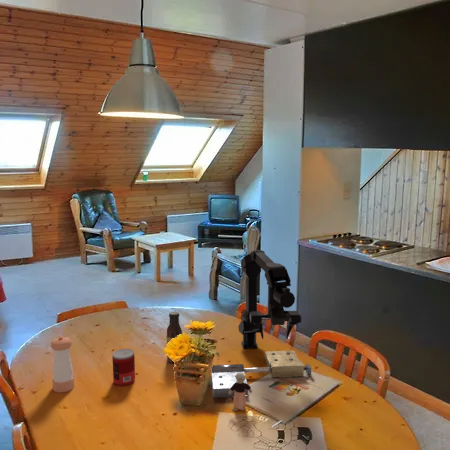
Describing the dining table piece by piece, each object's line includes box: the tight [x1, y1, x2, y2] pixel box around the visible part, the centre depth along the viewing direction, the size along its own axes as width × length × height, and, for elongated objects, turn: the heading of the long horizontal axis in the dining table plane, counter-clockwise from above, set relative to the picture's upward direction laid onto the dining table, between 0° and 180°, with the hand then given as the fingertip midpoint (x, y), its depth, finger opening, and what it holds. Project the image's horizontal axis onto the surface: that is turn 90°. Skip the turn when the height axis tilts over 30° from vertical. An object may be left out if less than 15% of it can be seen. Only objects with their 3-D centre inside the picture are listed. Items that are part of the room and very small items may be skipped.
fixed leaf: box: [210, 363, 312, 399], centre depth 170 cm, size 16×37×5 cm, turn 95°
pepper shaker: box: [50, 335, 75, 393], centre depth 167 cm, size 7×7×19 cm
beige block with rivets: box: [264, 350, 305, 379], centre depth 183 cm, size 16×12×4 cm
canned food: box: [112, 348, 136, 387], centre depth 172 cm, size 8×8×11 cm
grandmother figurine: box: [228, 372, 253, 412], centre depth 153 cm, size 8×4×13 cm, turn 106°
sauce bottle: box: [166, 311, 183, 364], centre depth 188 cm, size 7×6×20 cm
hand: (274, 338), depth 177 cm, fingers open, 9 cm apart
